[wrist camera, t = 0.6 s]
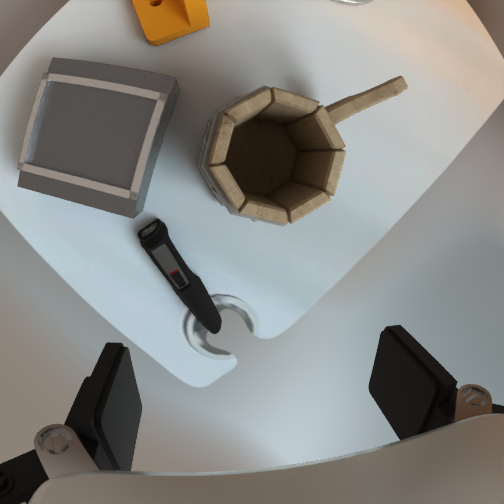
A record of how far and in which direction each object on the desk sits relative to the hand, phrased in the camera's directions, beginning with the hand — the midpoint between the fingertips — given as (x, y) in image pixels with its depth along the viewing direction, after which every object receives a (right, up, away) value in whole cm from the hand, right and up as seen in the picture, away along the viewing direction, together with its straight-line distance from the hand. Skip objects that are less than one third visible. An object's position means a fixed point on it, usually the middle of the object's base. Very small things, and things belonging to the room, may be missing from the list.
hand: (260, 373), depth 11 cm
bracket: (-11, +34, +19) cm, 41 cm away
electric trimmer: (-9, +2, +29) cm, 31 cm away
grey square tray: (-18, +18, +23) cm, 34 cm away
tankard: (+3, +17, +26) cm, 31 cm away
